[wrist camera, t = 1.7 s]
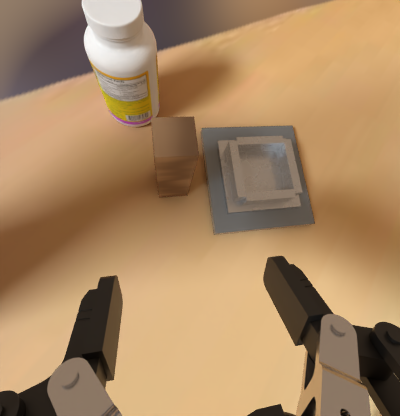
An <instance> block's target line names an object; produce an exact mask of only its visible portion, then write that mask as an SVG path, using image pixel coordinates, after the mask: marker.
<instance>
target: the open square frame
mask: <svg viewBox="0 0 400 416" xmlns="http://www.w3.org/2000/svg"><path fill="white" fill-rule="evenodd" d="M217 148H218V154H219V161H220V168H221V175H222V182H223V189H224V195H225V202H226V209H227V214H231V213H242V212H253V211H264V210H276V209H287V208H298V207H301V203H300V198H299V194H301V193H303V192H302V187H301V183H300V178H299V174H298V169H297V165H296V161H295V156H294V152H293V147H292V143H291V139H286V138H283V136H257V137H236V139H235V140H223V141H217Z"/></svg>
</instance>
